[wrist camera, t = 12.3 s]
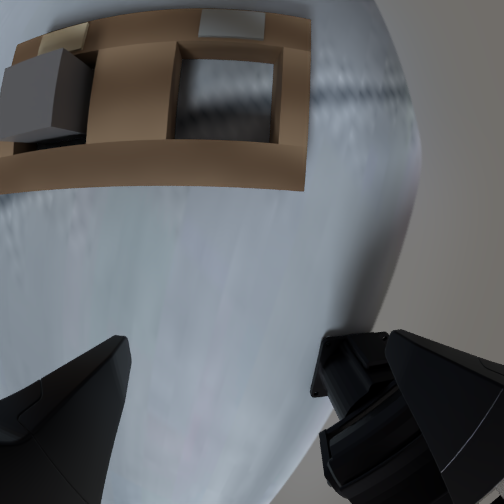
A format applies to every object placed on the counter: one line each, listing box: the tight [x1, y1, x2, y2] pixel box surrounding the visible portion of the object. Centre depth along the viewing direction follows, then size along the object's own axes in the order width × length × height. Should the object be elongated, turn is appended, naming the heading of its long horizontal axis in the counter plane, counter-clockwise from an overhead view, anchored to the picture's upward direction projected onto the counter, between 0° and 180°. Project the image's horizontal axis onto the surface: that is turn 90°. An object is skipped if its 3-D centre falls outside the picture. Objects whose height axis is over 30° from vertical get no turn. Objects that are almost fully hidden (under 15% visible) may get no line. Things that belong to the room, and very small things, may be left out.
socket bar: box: [0, 8, 311, 194], centre depth 14 cm, size 11×20×3 cm, turn 86°
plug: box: [0, 48, 95, 144], centre depth 12 cm, size 4×4×6 cm
